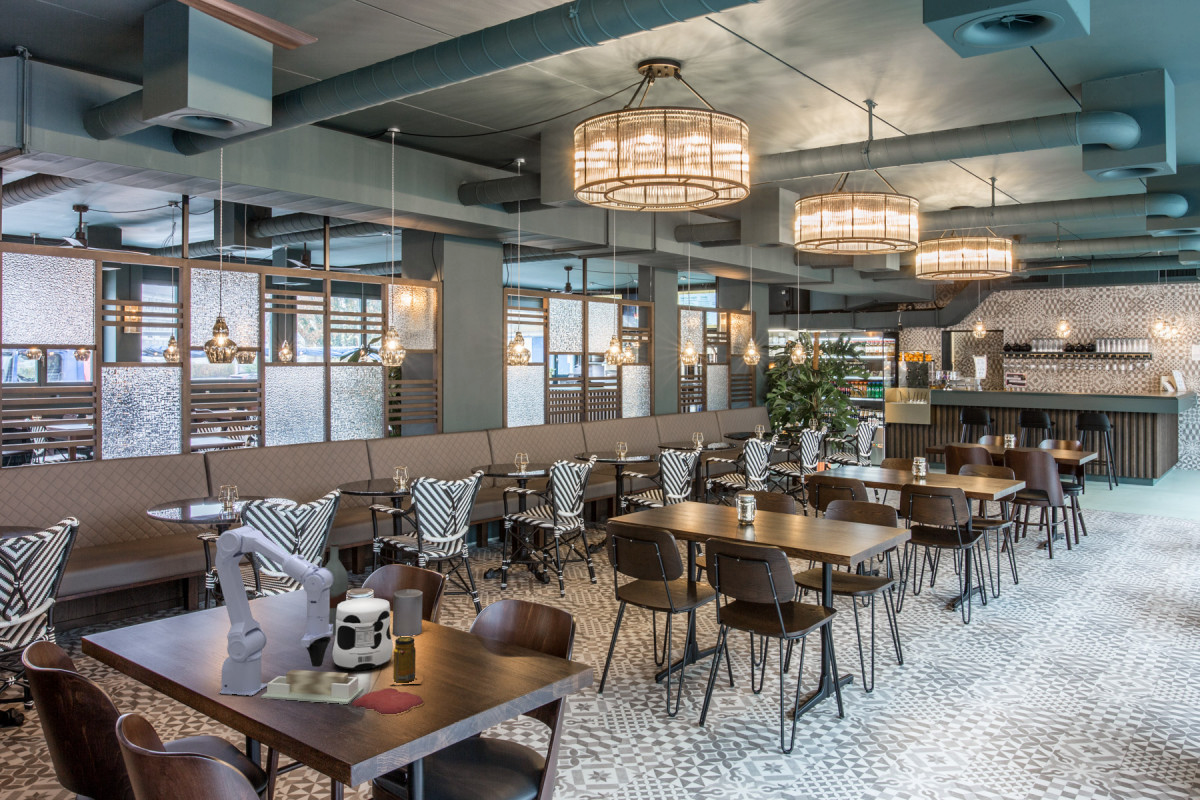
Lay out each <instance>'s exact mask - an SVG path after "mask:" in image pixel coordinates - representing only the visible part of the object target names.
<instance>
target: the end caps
mask: <svg viewBox="0 0 1200 800" xmlns="http://www.w3.org/2000/svg"><path fill="white" fill-rule="evenodd" d="M266 684H267V686H266V692H267V693H274V694H290V684H286V675H285V676H281V675H278V676H276V677H275V678H273V679H272V680H271V681H269V682H267V683H266ZM358 687H359V677H356V676H355V677H354V676H348V684H340V683H332V690H331V697H334V698H348V699H349V698H350V697H351V696H352V695H353V694H355V693H356V692H357V691H358Z"/></svg>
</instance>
